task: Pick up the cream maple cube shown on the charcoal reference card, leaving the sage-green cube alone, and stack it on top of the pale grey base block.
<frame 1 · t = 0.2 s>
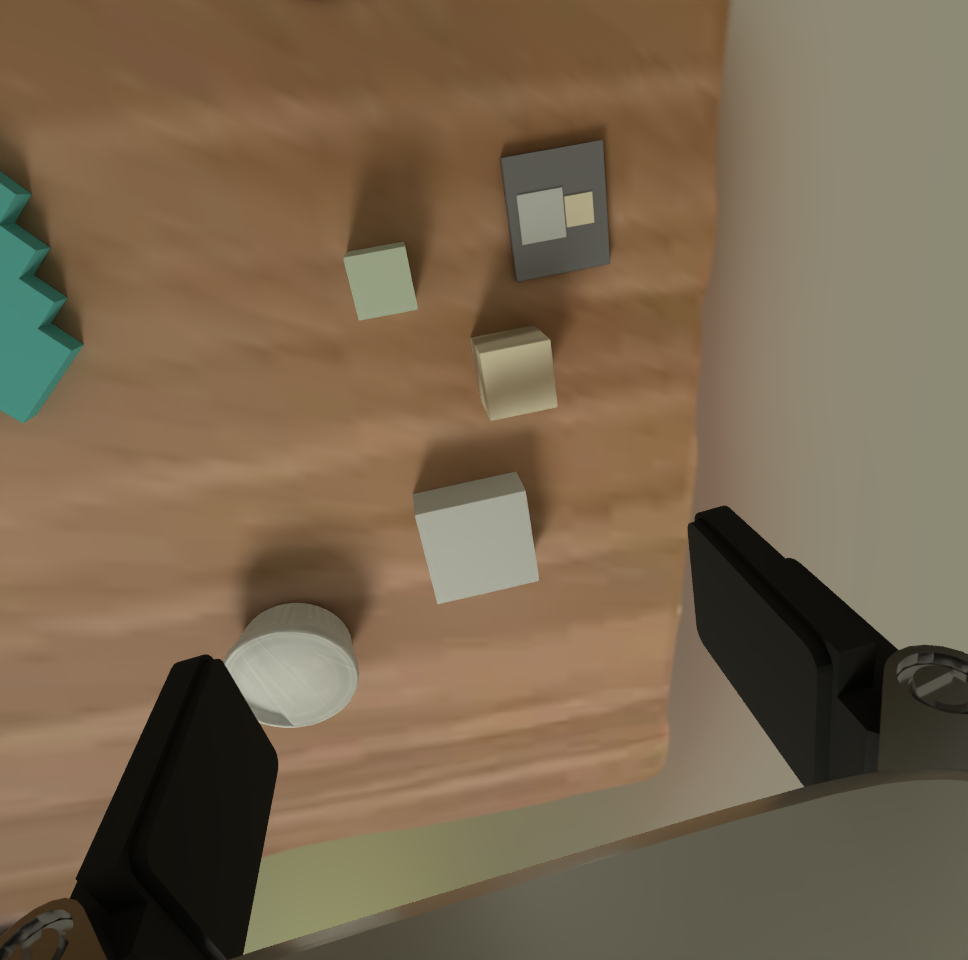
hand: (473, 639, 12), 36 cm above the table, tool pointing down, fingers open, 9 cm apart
sage cube: (381, 276, 42), on the table
ramekin: (298, 638, 55), on the table
cream cube: (506, 362, 47), on the table
reference card: (556, 213, 42), on the table
grey base block: (473, 525, 53), on the table
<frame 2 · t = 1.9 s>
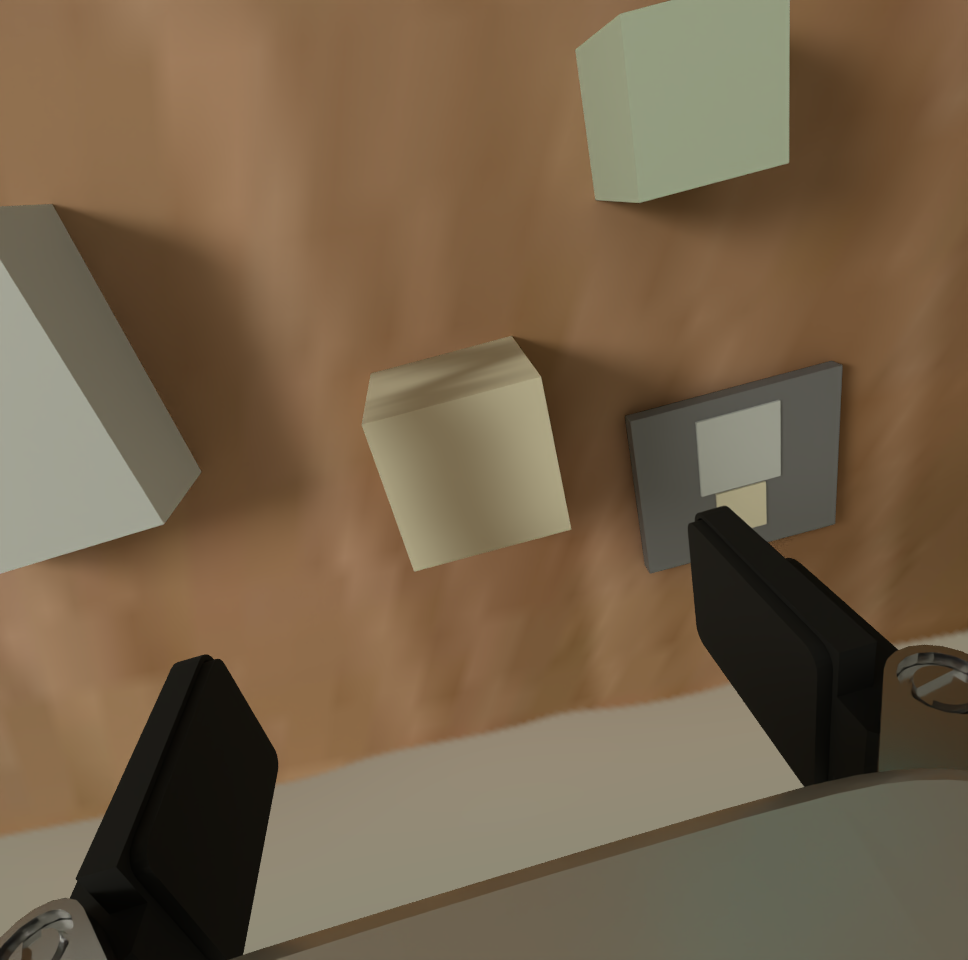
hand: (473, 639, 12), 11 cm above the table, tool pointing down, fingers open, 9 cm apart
sage cube: (649, 111, 18), on the table
cream cube: (459, 420, 22), on the table
reference card: (732, 469, 24), on the table
grey base block: (8, 389, 20), on the table
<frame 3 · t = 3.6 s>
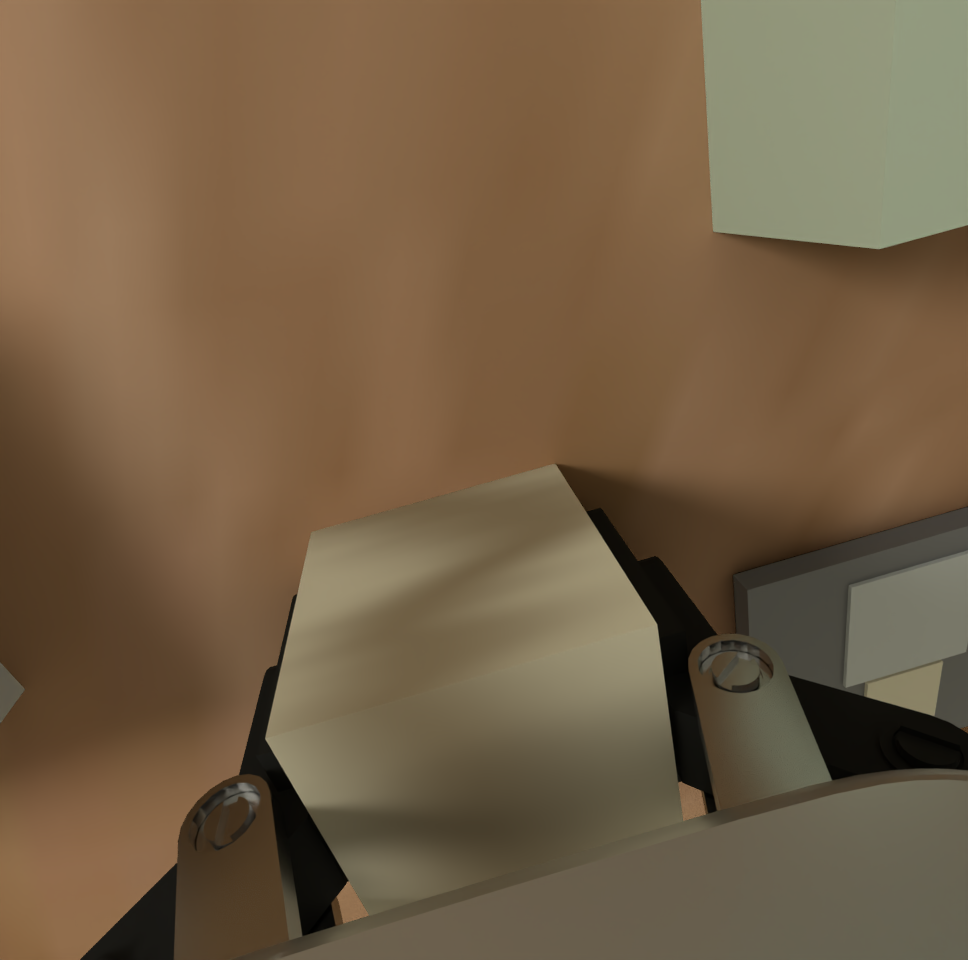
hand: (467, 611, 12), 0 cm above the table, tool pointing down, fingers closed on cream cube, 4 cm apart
sage cube: (822, 69, 10), on the table
cream cube: (464, 595, 13), on the table, touching gripper
reference card: (886, 639, 15), on the table
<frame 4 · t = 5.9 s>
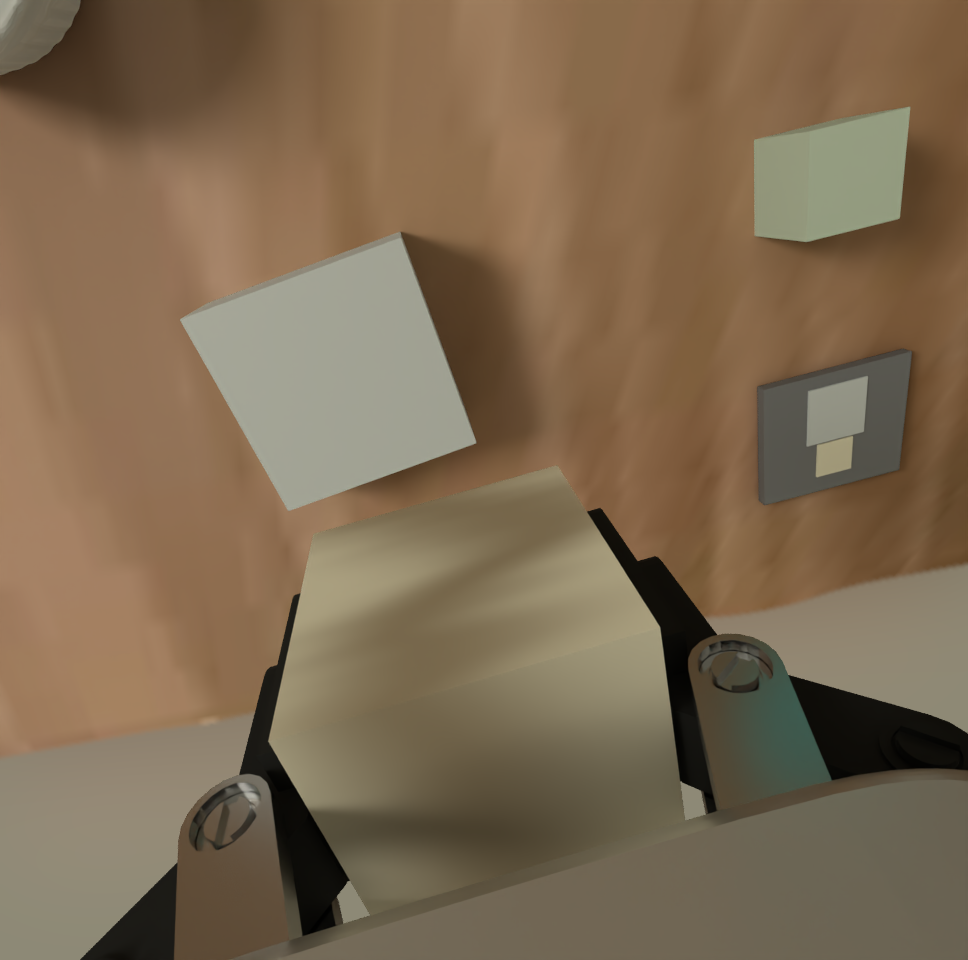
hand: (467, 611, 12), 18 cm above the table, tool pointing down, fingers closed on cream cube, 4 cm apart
sage cube: (795, 179, 27), on the table
cream cube: (466, 597, 13), point 18 cm above the table, touching gripper
reference card: (827, 427, 33), on the table
grey base block: (346, 361, 28), on the table
when the fingers open (6 cm above the table, at t = 8.2 s): cream cube drops 2 cm, point 4 cm above the table.
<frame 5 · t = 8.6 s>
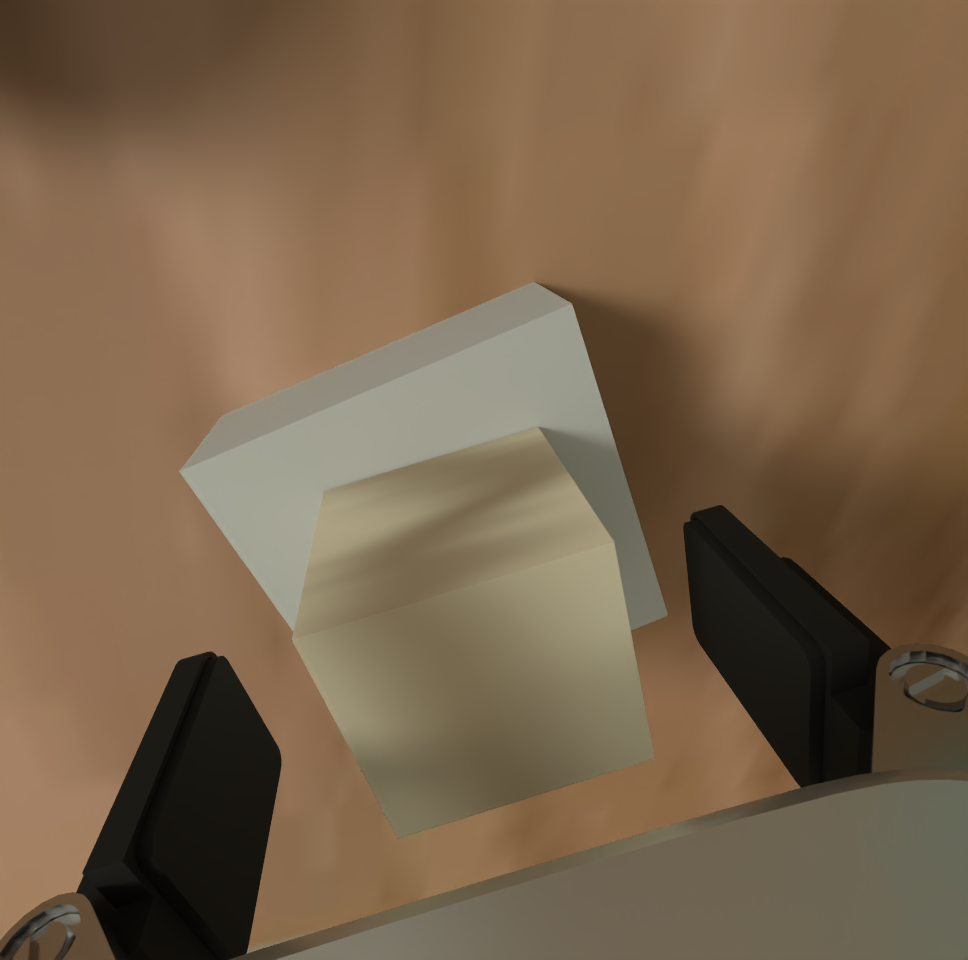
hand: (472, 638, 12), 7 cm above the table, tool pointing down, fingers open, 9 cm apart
cream cube: (460, 548, 14), point 4 cm above the table
grey base block: (441, 482, 18), on the table
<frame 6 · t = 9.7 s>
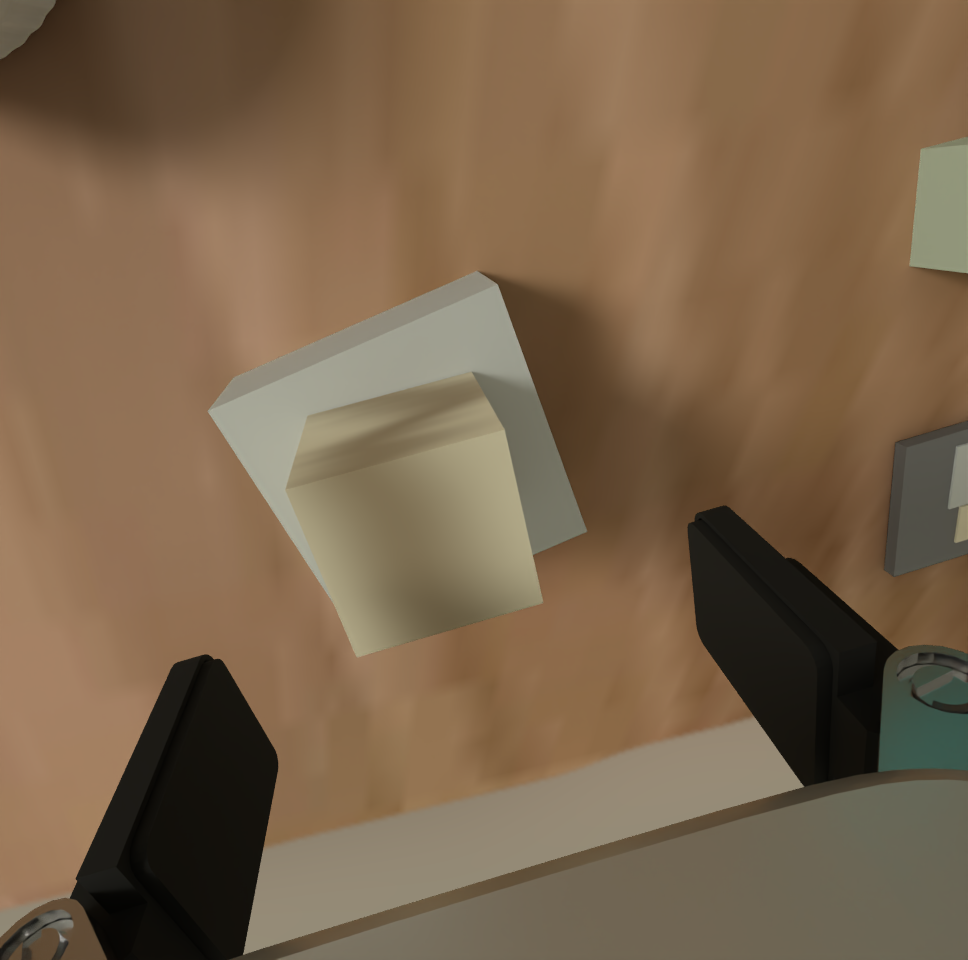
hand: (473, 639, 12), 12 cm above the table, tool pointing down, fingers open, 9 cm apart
sage cube: (963, 196, 22), on the table
cream cube: (412, 467, 19), point 4 cm above the table
grey base block: (409, 433, 23), on the table
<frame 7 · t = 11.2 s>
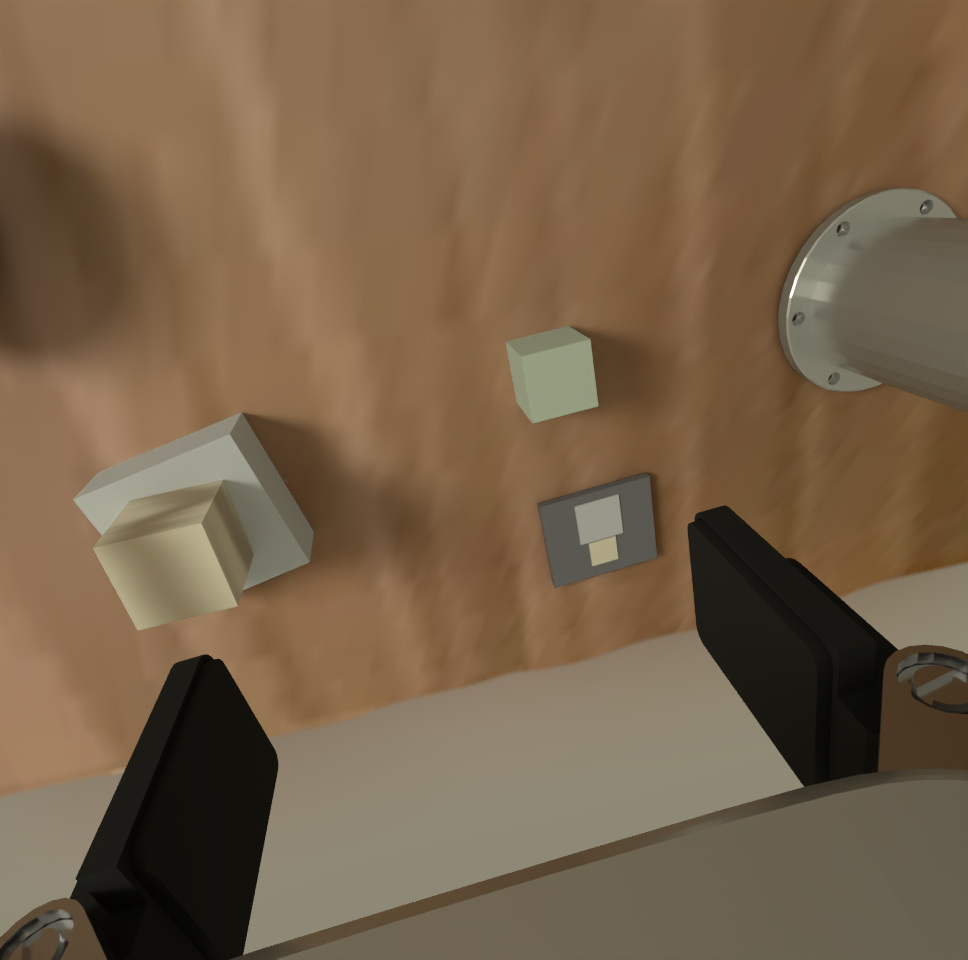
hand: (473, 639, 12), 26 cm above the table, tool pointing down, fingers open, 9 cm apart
sage cube: (541, 364, 37), on the table
cream cube: (194, 528, 34), point 4 cm above the table, touching grey base block
reference card: (598, 529, 43), on the table
grey base block: (214, 501, 37), on the table, touching cream cube
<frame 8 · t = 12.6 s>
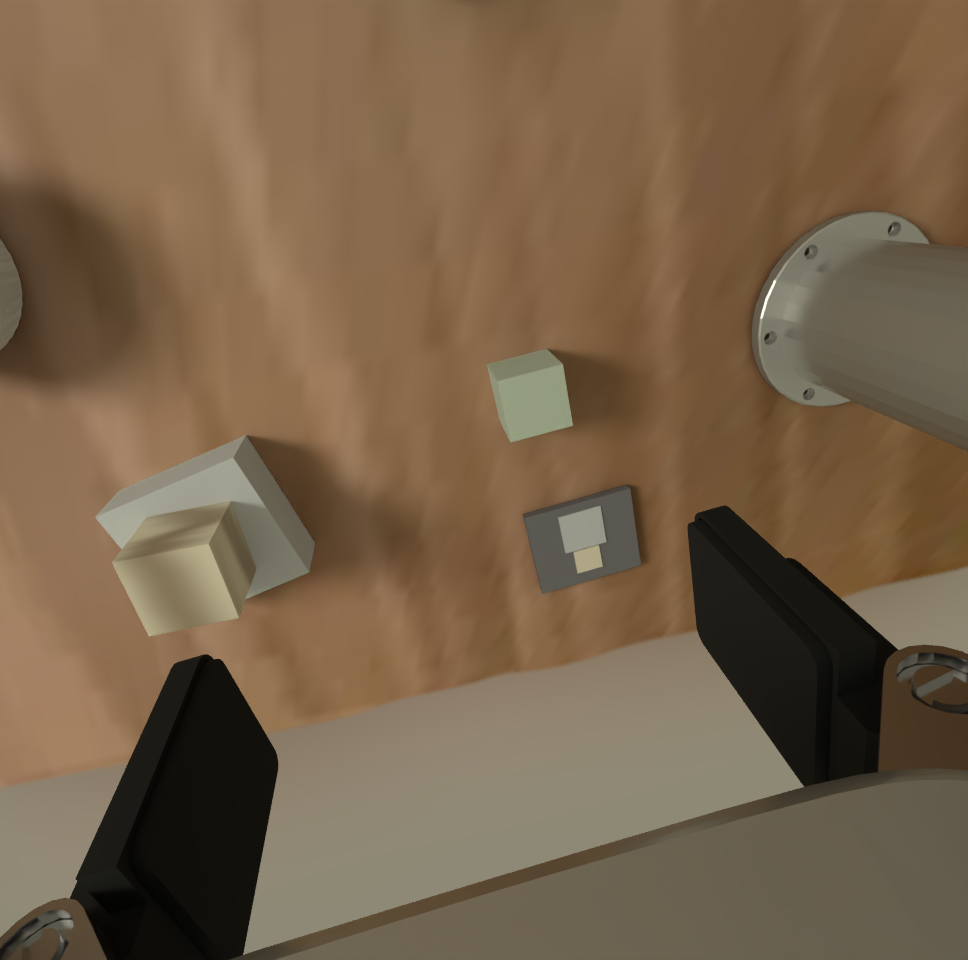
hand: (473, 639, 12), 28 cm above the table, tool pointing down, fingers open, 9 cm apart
sage cube: (522, 385, 39), on the table
cream cube: (203, 543, 37), point 4 cm above the table, touching grey base block
reference card: (582, 538, 45), on the table
grey base block: (223, 515, 41), on the table, touching cream cube
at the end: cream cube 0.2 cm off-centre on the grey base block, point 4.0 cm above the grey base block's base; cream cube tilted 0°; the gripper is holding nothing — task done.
